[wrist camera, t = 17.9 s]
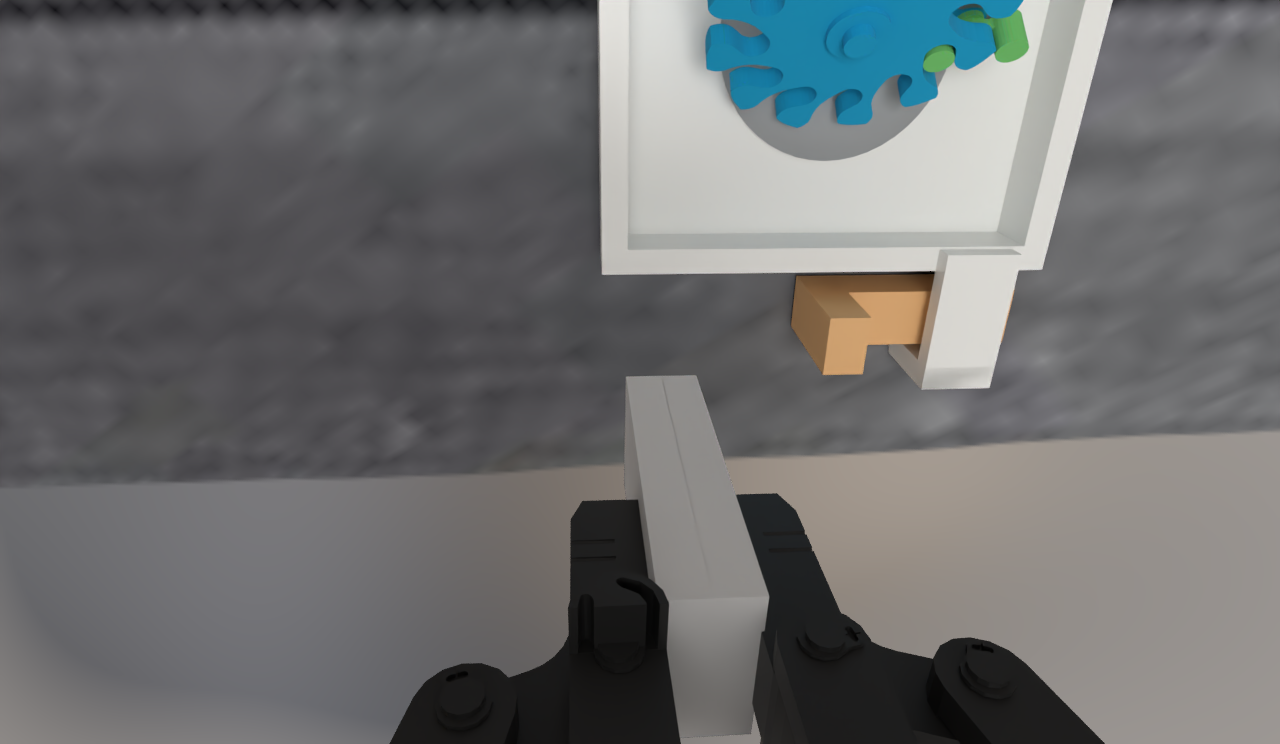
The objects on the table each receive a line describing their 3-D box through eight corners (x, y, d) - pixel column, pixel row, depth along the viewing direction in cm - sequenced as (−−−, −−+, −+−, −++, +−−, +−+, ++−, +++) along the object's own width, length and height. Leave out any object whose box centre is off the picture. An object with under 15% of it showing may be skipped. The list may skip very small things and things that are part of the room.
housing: (601, 357, 34) (603, 396, 31) (594, -251, 24) (596, -293, 21) (980, 350, 35) (1022, 387, 32) (1117, -231, 26) (1200, -268, 22)
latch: (791, 326, 34) (823, 375, 29) (796, 275, 33) (830, 318, 28) (977, 323, 34) (1036, 370, 30) (988, 273, 33) (1052, 314, 29)
